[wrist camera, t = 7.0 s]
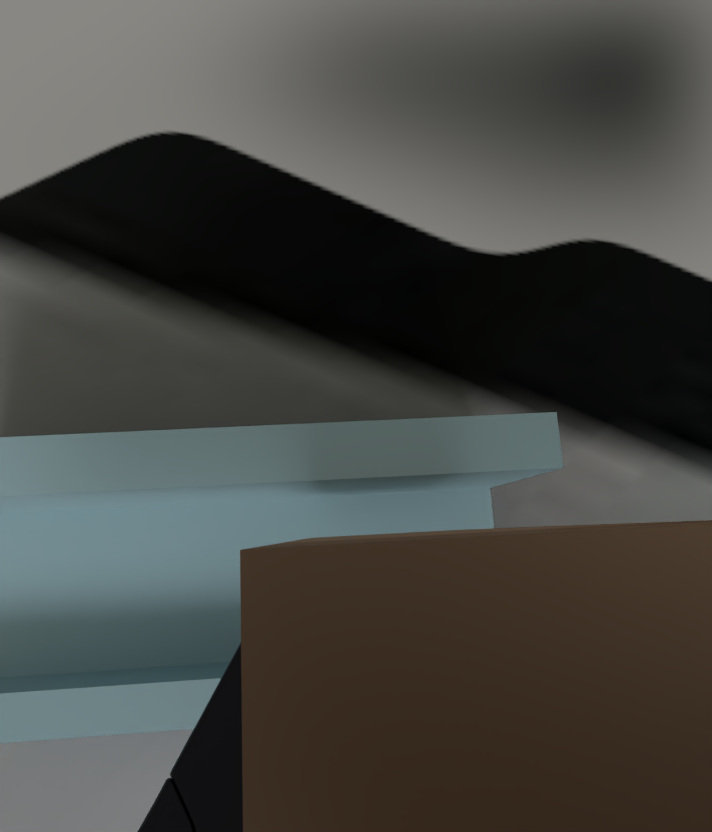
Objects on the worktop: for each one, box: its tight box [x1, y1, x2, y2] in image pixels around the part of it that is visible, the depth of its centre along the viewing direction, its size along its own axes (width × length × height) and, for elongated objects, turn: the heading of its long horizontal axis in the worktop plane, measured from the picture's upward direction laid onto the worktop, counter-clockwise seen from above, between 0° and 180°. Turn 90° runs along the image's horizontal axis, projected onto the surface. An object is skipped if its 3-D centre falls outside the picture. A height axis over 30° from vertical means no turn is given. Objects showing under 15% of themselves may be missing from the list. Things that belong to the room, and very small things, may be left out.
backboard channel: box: [0, 412, 564, 743], centre depth 19 cm, size 9×20×8 cm, turn 93°
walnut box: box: [240, 520, 712, 832], centre depth 10 cm, size 4×4×13 cm
